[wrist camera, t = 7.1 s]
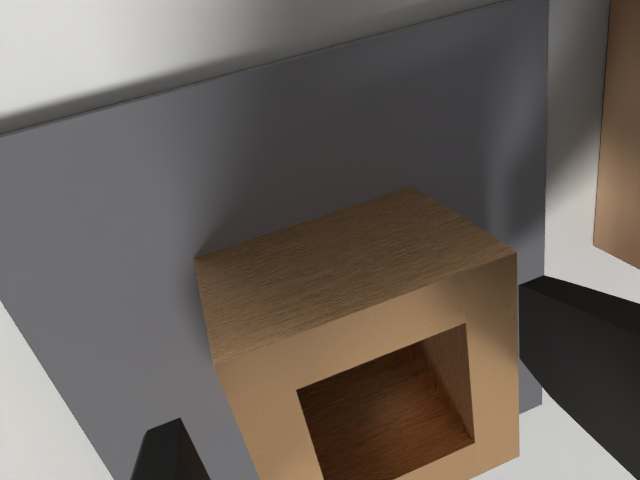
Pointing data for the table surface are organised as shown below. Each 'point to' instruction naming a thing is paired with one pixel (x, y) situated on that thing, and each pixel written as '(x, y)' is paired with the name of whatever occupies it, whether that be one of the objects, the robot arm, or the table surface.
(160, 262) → the mat
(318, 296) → the collar
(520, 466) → the table surface
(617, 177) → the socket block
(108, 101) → the table surface
